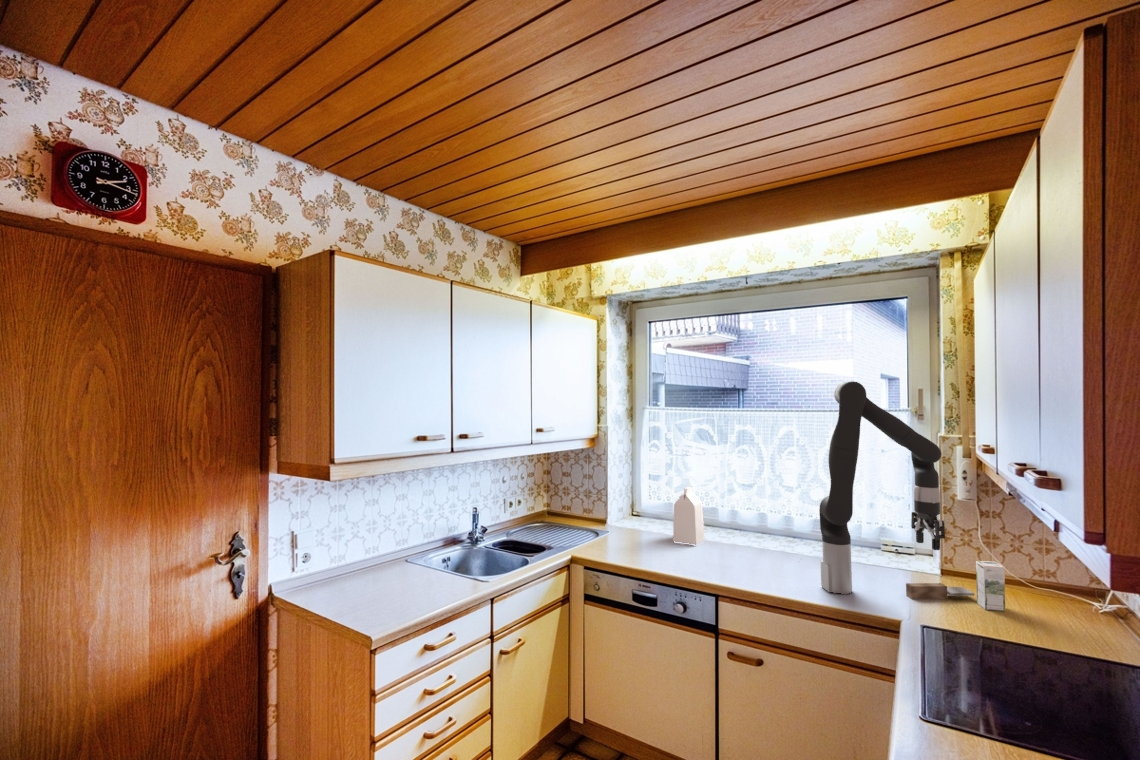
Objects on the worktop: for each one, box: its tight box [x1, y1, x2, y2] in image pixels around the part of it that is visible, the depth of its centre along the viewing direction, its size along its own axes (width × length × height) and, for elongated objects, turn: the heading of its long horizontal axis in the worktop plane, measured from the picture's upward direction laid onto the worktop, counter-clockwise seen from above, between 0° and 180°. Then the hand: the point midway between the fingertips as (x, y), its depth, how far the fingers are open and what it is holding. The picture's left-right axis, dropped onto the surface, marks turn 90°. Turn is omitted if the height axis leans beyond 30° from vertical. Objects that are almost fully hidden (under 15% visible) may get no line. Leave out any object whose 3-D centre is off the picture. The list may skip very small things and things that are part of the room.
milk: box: [672, 486, 706, 545], centre depth 256 cm, size 12×12×26 cm
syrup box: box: [975, 560, 1006, 612], centre depth 173 cm, size 6×6×14 cm
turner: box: [905, 582, 975, 600], centre depth 183 cm, size 20×6×4 cm, turn 88°
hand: (927, 546), depth 184 cm, fingers open, 8 cm apart
